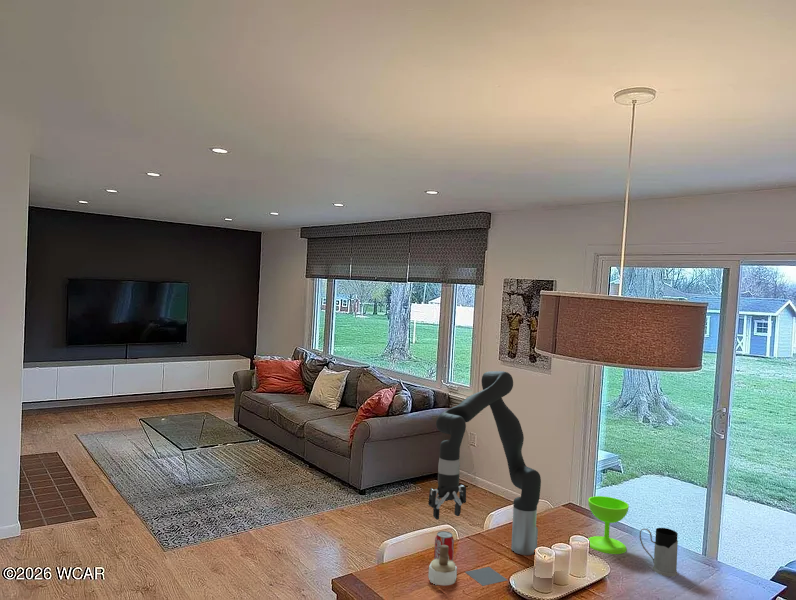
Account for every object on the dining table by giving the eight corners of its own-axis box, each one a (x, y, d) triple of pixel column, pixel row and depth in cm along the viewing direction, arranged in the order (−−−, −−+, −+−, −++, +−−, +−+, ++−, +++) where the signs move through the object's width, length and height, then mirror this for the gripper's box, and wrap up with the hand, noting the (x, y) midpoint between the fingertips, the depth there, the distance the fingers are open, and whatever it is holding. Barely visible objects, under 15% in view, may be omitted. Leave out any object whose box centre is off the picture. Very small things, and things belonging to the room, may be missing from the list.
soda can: (451, 572, 205) (453, 539, 206) (432, 569, 207) (434, 536, 207) (453, 563, 212) (455, 531, 213) (435, 561, 214) (436, 529, 214)
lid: (446, 559, 205) (447, 540, 205) (459, 569, 197) (460, 549, 197) (426, 563, 201) (427, 543, 201) (439, 573, 193) (440, 553, 194)
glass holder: (673, 578, 209) (675, 538, 210) (634, 565, 219) (636, 526, 219) (680, 571, 216) (682, 532, 216) (642, 559, 225) (644, 521, 226)
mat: (489, 568, 210) (489, 566, 210) (508, 581, 201) (508, 580, 201) (464, 573, 205) (464, 571, 205) (482, 587, 196) (482, 585, 196)
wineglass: (634, 549, 235) (636, 505, 235) (611, 557, 226) (613, 511, 226) (601, 535, 248) (603, 494, 248) (578, 542, 239) (580, 499, 239)
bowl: (446, 572, 205) (446, 558, 205) (460, 583, 197) (461, 570, 197) (424, 576, 201) (424, 563, 201) (438, 588, 193) (438, 574, 193)
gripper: (459, 466, 206) (457, 510, 206) (426, 469, 200) (423, 516, 200) (471, 472, 200) (469, 518, 200) (437, 476, 193) (435, 523, 193)
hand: (446, 517), depth 200 cm, fingers open, 8 cm apart
